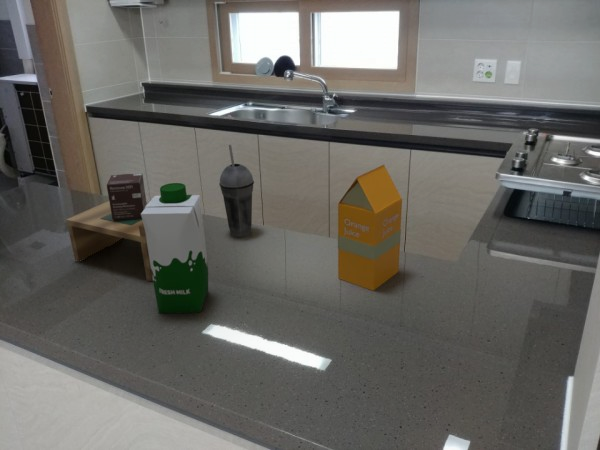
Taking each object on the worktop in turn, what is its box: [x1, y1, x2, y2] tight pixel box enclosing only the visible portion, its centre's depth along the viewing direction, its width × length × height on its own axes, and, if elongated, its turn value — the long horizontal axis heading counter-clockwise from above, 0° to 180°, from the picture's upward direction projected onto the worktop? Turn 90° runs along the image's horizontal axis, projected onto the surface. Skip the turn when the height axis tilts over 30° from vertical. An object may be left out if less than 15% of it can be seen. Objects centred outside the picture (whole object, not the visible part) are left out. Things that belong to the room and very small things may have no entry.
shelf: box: [65, 200, 153, 282], centre depth 106 cm, size 20×14×11 cm
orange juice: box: [337, 164, 403, 292], centre depth 94 cm, size 8×9×20 cm
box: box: [106, 173, 147, 220], centre depth 103 cm, size 6×6×7 cm
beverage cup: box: [218, 144, 255, 238], centre depth 113 cm, size 7×7×20 cm
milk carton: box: [141, 182, 209, 314], centre depth 88 cm, size 9×9×20 cm
